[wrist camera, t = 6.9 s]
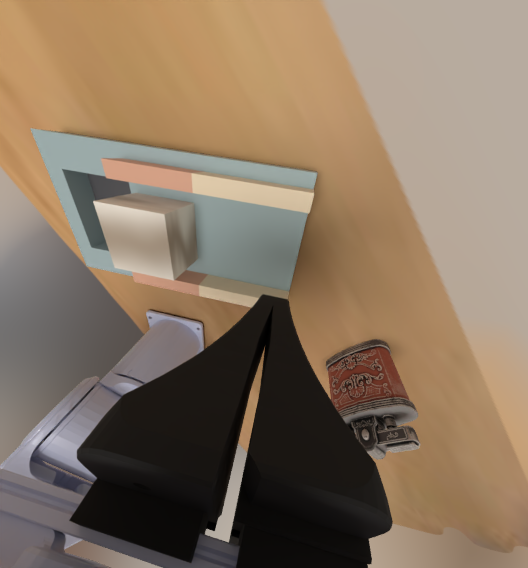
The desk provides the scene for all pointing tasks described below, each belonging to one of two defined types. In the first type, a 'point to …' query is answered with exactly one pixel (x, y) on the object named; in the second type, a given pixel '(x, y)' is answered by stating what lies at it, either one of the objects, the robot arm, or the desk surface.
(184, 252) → the block
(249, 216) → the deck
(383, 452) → the lighter
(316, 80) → the desk surface
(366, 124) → the desk surface
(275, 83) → the desk surface
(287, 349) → the robot arm
